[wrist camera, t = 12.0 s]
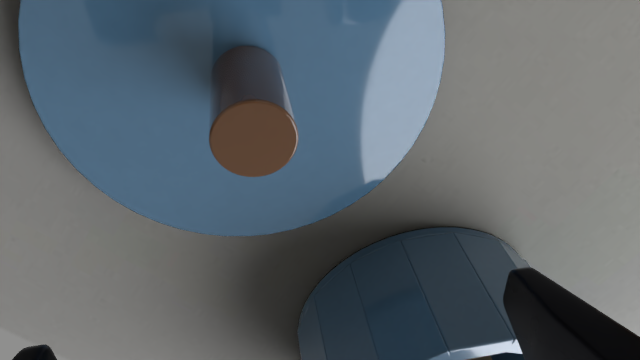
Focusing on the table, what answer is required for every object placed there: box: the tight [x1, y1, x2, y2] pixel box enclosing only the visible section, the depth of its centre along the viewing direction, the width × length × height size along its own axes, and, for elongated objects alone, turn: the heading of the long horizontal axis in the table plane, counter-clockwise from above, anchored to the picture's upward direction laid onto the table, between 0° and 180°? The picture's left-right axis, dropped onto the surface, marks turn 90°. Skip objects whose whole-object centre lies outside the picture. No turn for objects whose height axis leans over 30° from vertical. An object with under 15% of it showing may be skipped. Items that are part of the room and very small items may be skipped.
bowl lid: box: [18, 0, 445, 236], centre depth 16 cm, size 14×14×5 cm
